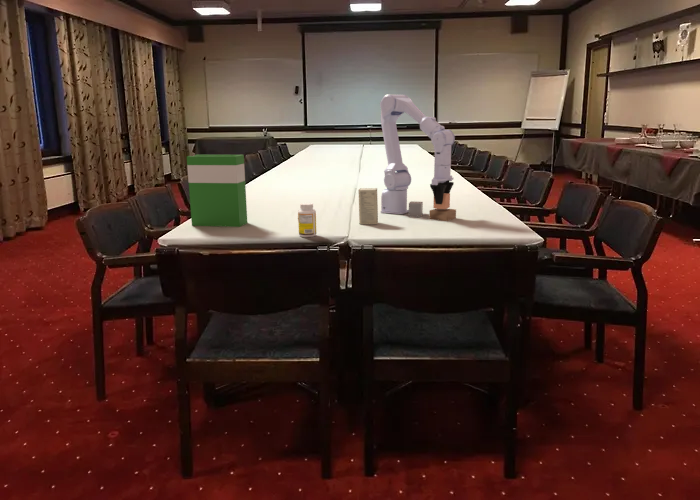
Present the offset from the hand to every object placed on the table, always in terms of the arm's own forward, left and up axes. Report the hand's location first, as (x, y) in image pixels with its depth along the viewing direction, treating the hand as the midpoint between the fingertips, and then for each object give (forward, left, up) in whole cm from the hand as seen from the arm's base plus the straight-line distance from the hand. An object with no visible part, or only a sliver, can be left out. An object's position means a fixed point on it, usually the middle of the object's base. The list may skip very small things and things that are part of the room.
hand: (441, 203), depth 206 cm
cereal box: (-65, -45, -6) cm, 79 cm away
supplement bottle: (-26, -47, -6) cm, 54 cm away
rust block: (0, 0, -2) cm, 2 cm away
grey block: (-11, +2, -6) cm, 13 cm away
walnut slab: (0, 0, -6) cm, 6 cm away
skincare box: (-19, -20, -6) cm, 28 cm away
